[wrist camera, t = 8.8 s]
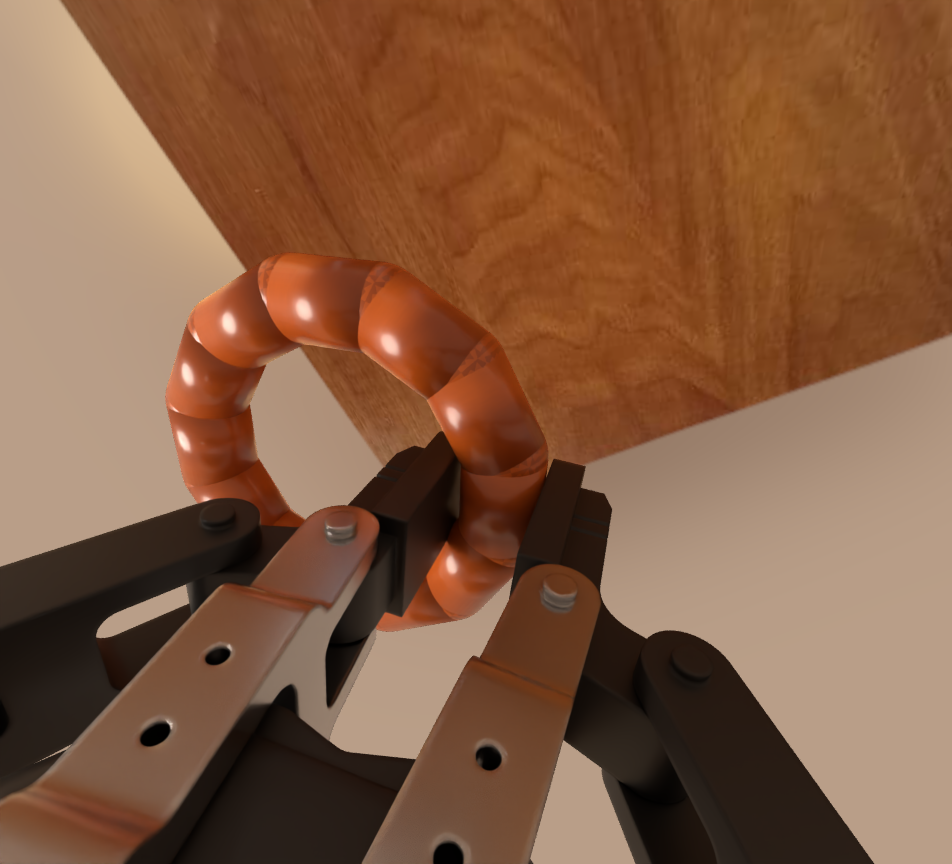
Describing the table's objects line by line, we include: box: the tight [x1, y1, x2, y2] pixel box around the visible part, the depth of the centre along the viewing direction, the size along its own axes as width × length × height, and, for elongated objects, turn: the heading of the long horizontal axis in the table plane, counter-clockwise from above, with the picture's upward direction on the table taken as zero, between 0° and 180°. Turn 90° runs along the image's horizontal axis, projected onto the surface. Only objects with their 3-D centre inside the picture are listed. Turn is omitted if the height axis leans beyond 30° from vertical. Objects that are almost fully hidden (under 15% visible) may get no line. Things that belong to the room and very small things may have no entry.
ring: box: [165, 252, 548, 632], centre depth 13 cm, size 9×9×2 cm
